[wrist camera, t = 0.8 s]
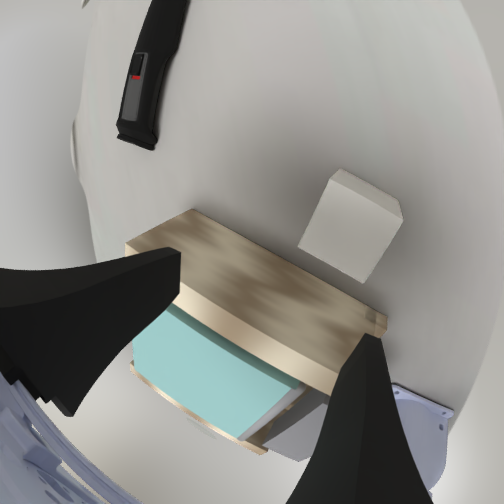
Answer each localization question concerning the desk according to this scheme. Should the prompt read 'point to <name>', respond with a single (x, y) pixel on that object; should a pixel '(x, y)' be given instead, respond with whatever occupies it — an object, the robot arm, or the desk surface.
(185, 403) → the trapdoor
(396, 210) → the gray cube
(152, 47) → the electric trimmer
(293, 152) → the desk surface
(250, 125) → the desk surface
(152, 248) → the rail stand
